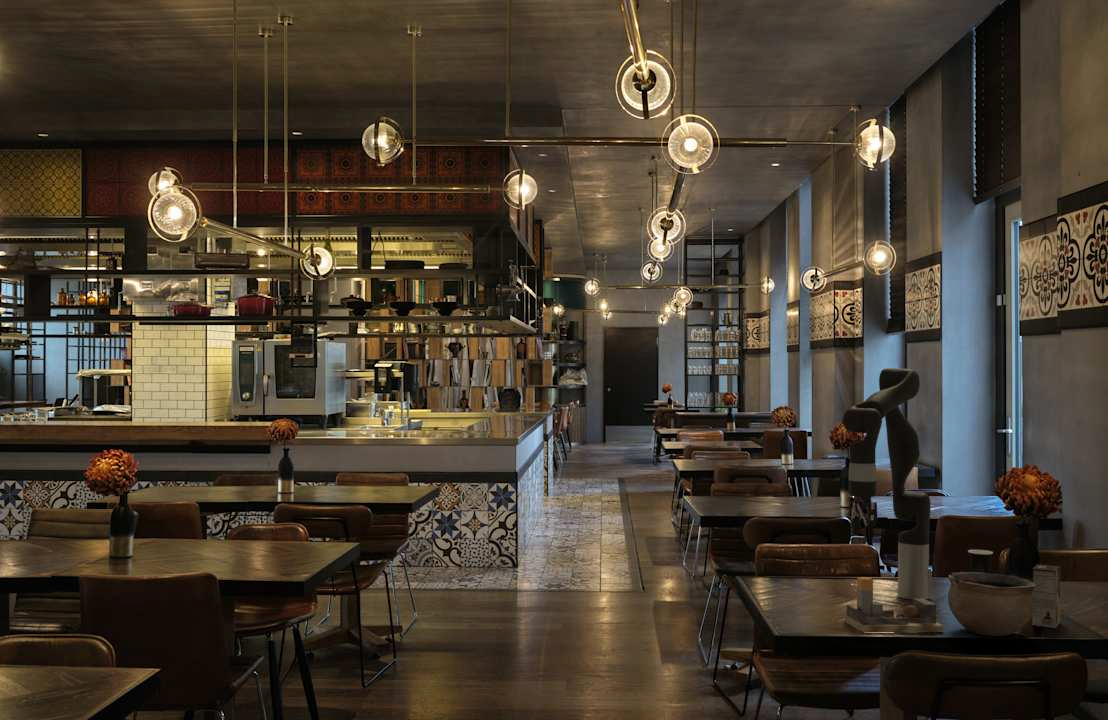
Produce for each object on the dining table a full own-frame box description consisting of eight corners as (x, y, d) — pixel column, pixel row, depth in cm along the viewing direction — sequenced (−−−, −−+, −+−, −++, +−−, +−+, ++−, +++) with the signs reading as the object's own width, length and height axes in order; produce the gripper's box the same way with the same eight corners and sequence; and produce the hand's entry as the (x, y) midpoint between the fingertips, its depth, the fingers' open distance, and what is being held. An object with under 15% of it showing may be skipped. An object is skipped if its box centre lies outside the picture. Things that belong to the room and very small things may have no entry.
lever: (874, 616, 289) (874, 575, 289) (885, 621, 282) (885, 580, 282) (853, 616, 288) (854, 575, 288) (864, 622, 281) (864, 580, 281)
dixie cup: (974, 586, 347) (974, 553, 348) (963, 581, 355) (963, 549, 355) (997, 586, 348) (997, 553, 348) (985, 581, 356) (985, 549, 356)
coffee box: (1036, 619, 298) (1036, 563, 298) (1060, 622, 294) (1060, 565, 295) (1031, 625, 290) (1031, 568, 290) (1056, 628, 287) (1057, 570, 287)
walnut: (914, 618, 288) (914, 603, 288) (920, 621, 284) (920, 606, 284) (900, 618, 288) (900, 603, 288) (906, 621, 284) (906, 606, 284)
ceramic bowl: (938, 622, 292) (938, 569, 292) (1017, 625, 290) (1018, 571, 290) (961, 641, 270) (961, 584, 270) (1048, 645, 268) (1048, 586, 268)
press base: (919, 621, 294) (919, 596, 294) (943, 632, 280) (943, 606, 280) (845, 621, 291) (845, 596, 292) (864, 633, 277) (865, 607, 278)
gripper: (886, 481, 285) (886, 540, 285) (864, 475, 299) (865, 531, 299) (860, 482, 284) (860, 540, 284) (839, 476, 298) (840, 532, 298)
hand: (862, 536), depth 292 cm, fingers open, 8 cm apart
